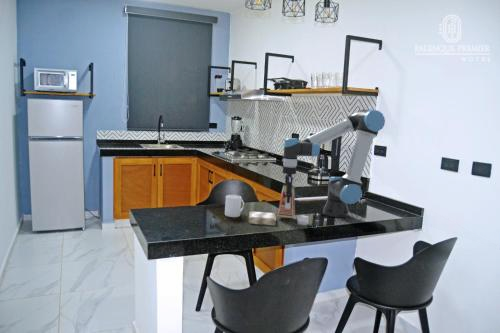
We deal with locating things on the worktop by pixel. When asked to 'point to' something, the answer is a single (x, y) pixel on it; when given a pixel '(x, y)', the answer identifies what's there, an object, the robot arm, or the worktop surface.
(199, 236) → the worktop surface
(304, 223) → the white block
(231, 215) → the mug
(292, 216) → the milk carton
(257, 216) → the podium
